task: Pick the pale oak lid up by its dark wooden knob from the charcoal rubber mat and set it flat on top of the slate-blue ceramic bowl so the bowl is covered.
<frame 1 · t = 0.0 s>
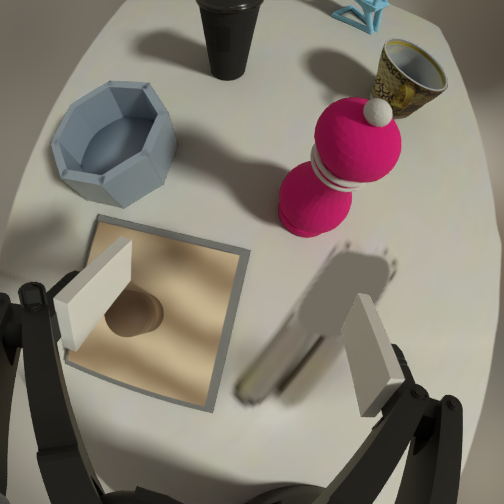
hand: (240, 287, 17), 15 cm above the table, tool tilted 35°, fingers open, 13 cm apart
mat: (149, 312, 31), on the table
chair: (357, 22, 43), on the table
lid: (148, 312, 30), point 1 cm above the table, touching mat
drinking cup: (228, 70, 37), on the table
bowl: (123, 156, 34), on the table
ceramic cup: (386, 109, 38), on the table
pepper mill: (304, 211, 34), on the table
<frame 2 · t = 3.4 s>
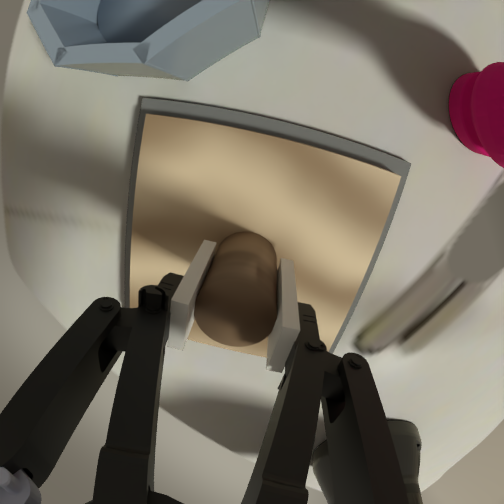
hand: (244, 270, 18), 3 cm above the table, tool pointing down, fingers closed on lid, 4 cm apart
mat: (248, 249, 21), on the table
lid: (247, 252, 21), point 1 cm above the table, touching gripper
pepper mill: (477, 113, 16), on the table
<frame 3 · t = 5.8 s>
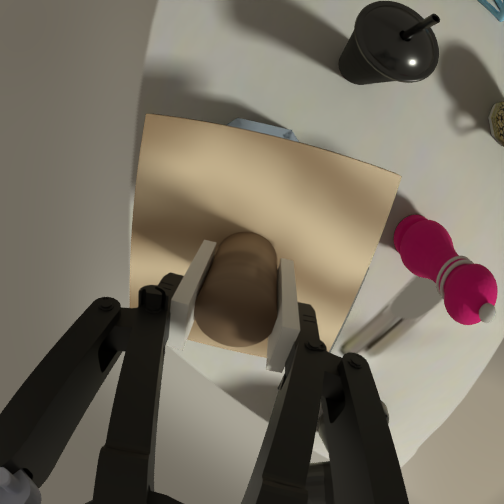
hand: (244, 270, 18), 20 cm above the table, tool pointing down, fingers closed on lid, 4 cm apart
lid: (247, 252, 21), point 18 cm above the table, touching gripper
drinking cup: (357, 66, 30), on the table
bowl: (254, 175, 36), on the table
ceramic cup: (498, 131, 30), on the table
pepper mill: (412, 235, 38), on the table
when the fingers open (11 cm above the table, at t = 8.3 s): lid drops 1 cm, resting on bowl.
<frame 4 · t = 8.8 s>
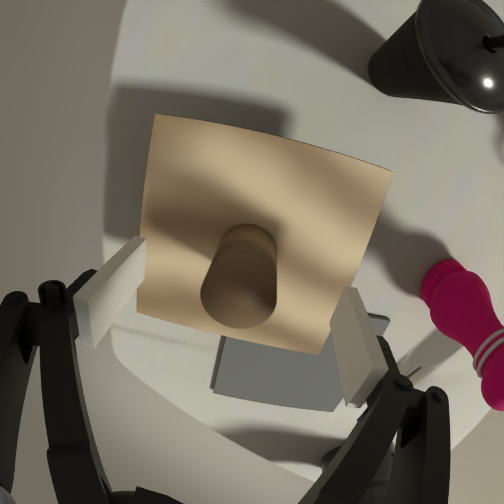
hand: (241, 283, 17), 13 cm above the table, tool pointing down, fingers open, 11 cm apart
mat: (294, 361, 36), on the table
lid: (249, 244, 22), point 7 cm above the table, touching bowl
drinking cup: (391, 73, 22), on the table
pepper mill: (441, 282, 30), on the table
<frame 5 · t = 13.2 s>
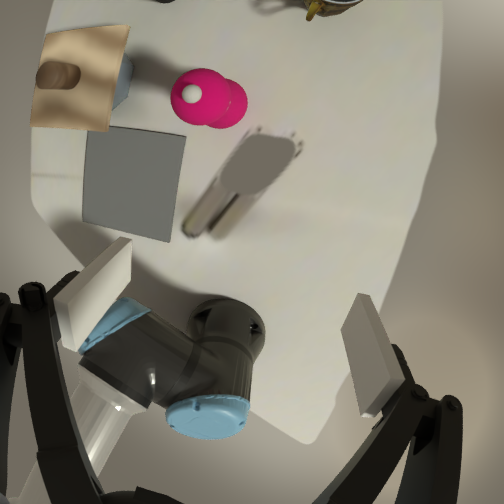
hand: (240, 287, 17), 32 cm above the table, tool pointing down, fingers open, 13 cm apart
mat: (128, 181, 47), on the table
lid: (75, 77, 33), point 7 cm above the table, touching bowl
bowl: (98, 80, 39), on the table
ceramic cup: (319, 6, 33), on the table
pepper mill: (225, 105, 41), on the table
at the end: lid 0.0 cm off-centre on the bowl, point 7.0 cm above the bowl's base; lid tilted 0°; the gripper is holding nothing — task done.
